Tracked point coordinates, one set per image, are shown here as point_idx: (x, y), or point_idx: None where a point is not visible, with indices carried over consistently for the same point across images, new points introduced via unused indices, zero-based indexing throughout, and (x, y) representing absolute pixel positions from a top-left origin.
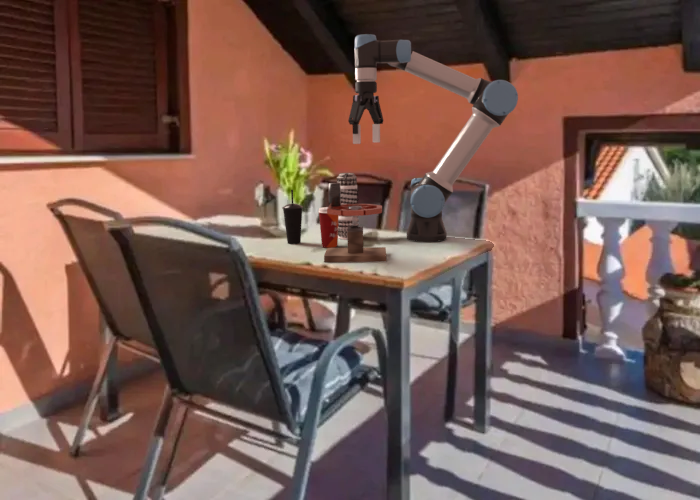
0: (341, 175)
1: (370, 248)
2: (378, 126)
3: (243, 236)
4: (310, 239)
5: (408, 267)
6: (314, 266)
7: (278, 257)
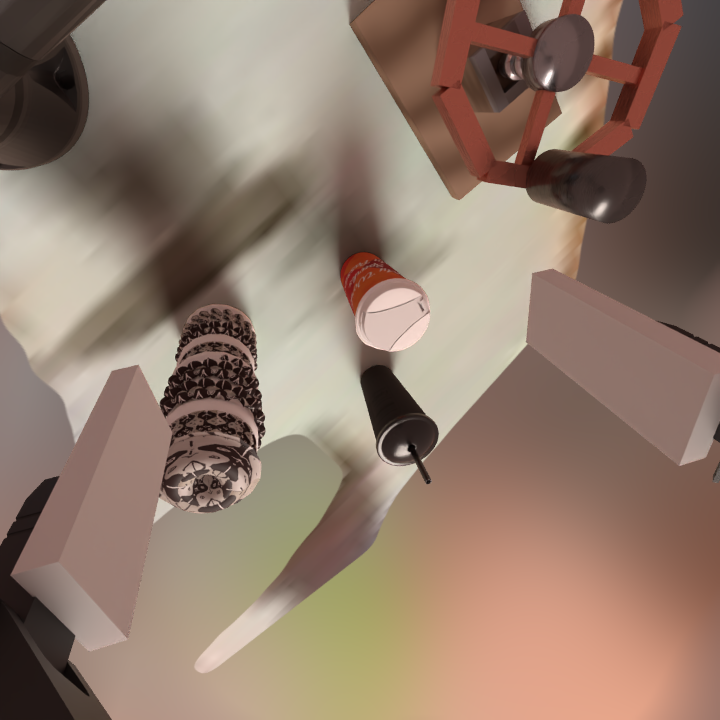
0: (249, 475)
1: (401, 61)
2: (82, 525)
3: (376, 509)
4: (312, 389)
5: None
6: (603, 95)
7: (538, 266)
